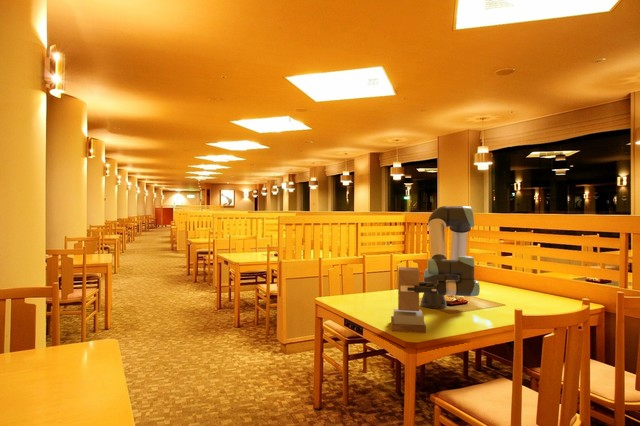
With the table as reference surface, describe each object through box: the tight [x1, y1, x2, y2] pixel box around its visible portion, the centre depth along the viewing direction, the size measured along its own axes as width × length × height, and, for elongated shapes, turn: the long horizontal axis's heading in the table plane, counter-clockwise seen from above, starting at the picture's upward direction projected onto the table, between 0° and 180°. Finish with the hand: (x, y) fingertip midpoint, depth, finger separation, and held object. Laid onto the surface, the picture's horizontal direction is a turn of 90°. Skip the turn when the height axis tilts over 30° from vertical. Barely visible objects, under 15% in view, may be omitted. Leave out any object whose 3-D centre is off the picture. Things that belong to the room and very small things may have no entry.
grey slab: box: [392, 308, 425, 325], centre depth 203 cm, size 14×14×4 cm
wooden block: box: [397, 266, 420, 311], centre depth 202 cm, size 10×10×20 cm
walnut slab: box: [390, 315, 427, 334], centre depth 202 cm, size 16×16×4 cm
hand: (399, 286), depth 203 cm, fingers closed on wooden block, 10 cm apart
